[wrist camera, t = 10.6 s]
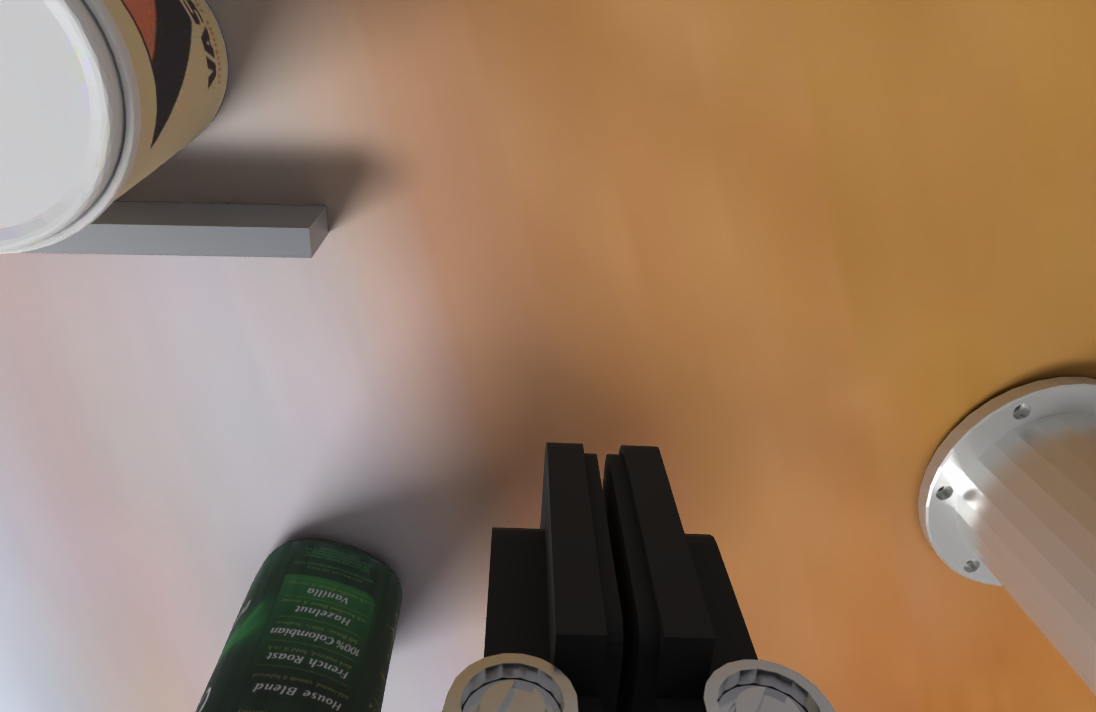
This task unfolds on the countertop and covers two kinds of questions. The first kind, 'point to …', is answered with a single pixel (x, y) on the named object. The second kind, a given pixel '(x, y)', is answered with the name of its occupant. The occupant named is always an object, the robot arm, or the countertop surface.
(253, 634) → the coffee jar
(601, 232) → the countertop surface
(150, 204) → the tray
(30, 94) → the coffee cup
